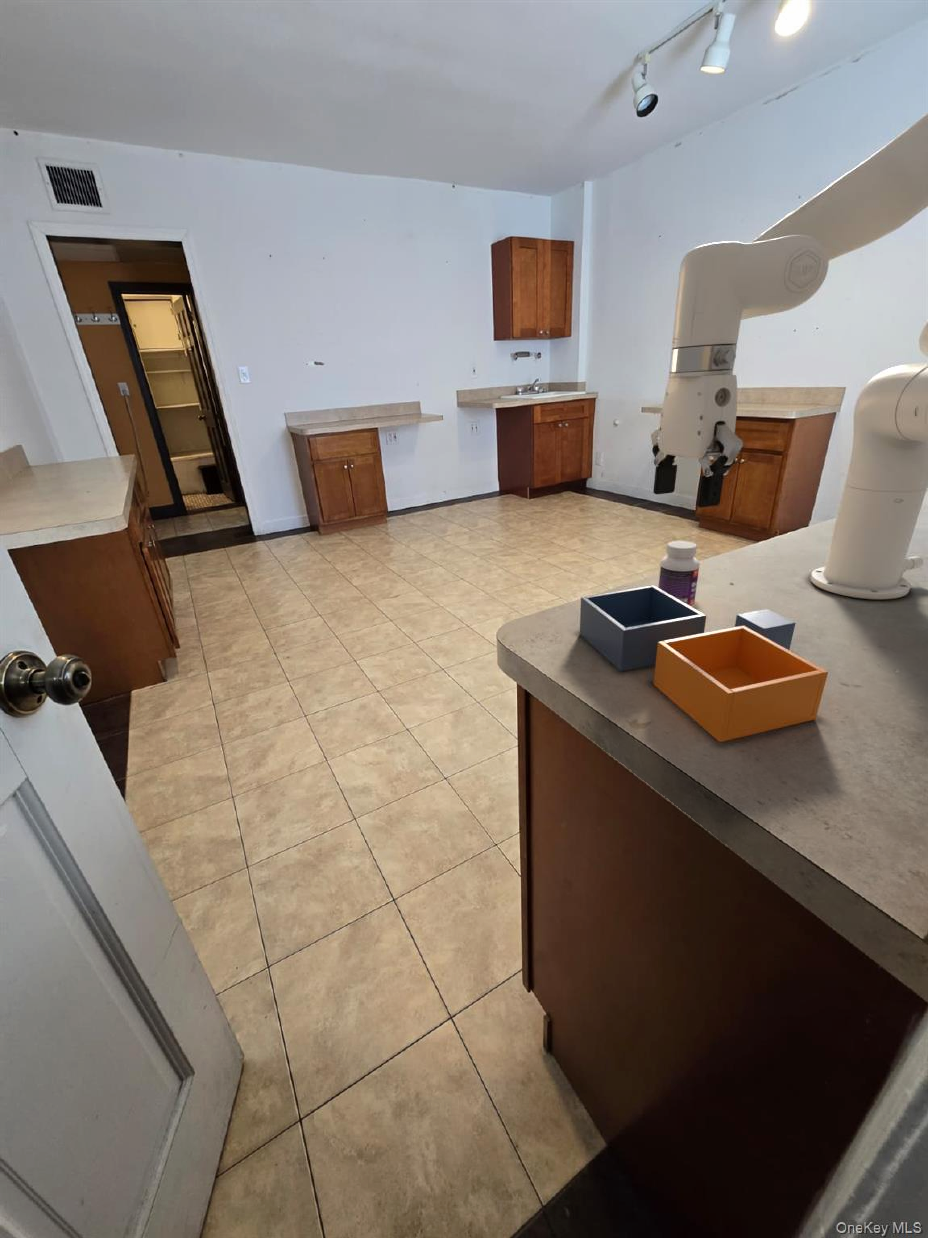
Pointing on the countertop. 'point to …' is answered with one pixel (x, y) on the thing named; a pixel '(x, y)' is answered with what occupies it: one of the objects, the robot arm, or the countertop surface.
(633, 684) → the countertop surface
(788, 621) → the blue block
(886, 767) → the countertop surface
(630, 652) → the blue bin
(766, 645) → the amber bin
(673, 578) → the pill bottle
